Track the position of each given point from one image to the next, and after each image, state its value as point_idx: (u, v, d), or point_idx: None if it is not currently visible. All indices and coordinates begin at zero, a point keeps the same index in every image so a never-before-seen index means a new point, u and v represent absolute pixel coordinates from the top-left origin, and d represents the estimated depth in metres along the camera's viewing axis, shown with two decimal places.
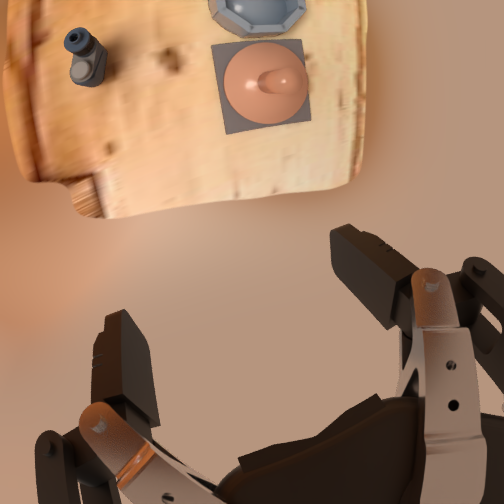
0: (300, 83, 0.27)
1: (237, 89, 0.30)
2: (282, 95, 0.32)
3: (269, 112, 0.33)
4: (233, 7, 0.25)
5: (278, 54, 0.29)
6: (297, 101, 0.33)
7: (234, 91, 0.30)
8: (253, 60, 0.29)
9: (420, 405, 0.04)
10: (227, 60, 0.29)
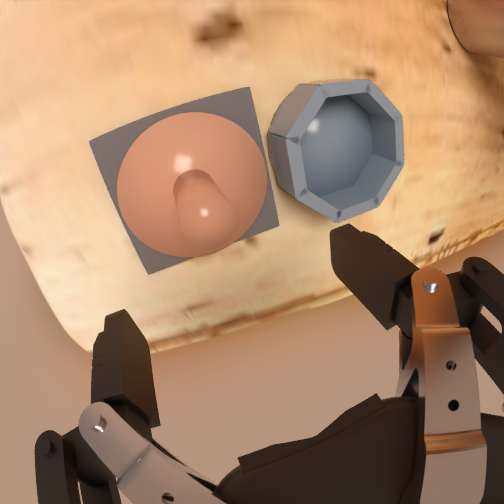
0: (208, 244, 0.16)
1: (171, 137, 0.17)
2: (175, 218, 0.20)
3: (139, 203, 0.19)
4: (318, 115, 0.21)
5: (248, 195, 0.21)
6: (172, 245, 0.21)
7: (166, 133, 0.17)
8: (230, 155, 0.19)
9: (420, 405, 0.04)
10: (223, 114, 0.19)
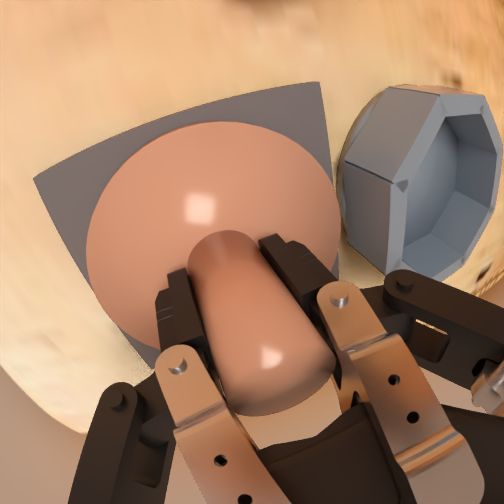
0: (276, 408, 0.07)
1: (182, 171, 0.09)
2: None
3: (128, 288, 0.11)
4: None
5: None
6: None
7: (173, 163, 0.09)
8: (289, 204, 0.11)
9: (420, 405, 0.04)
10: (275, 127, 0.11)
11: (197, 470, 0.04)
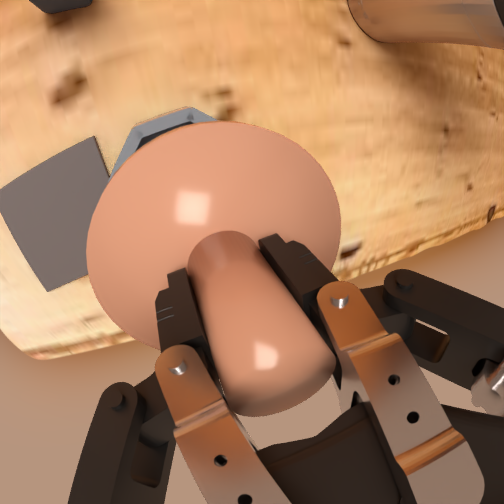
0: (276, 408, 0.07)
1: (182, 172, 0.09)
2: None
3: (128, 288, 0.11)
4: None
5: None
6: None
7: (173, 163, 0.09)
8: (289, 204, 0.11)
9: (420, 405, 0.04)
10: (75, 163, 0.20)
11: (197, 470, 0.04)
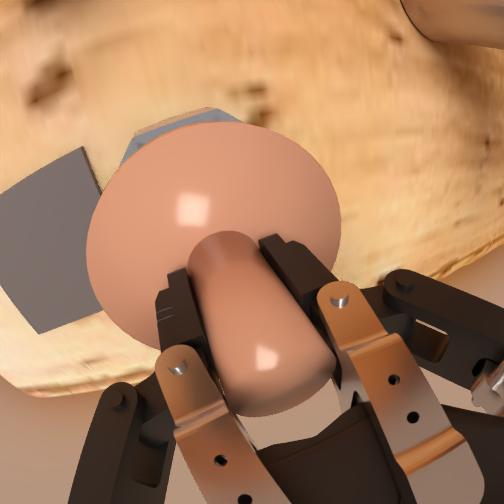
0: (276, 409, 0.07)
1: (183, 172, 0.09)
2: None
3: (128, 289, 0.11)
4: None
5: None
6: None
7: (174, 163, 0.09)
8: (289, 204, 0.11)
9: (420, 405, 0.04)
10: (59, 184, 0.15)
11: (197, 470, 0.04)
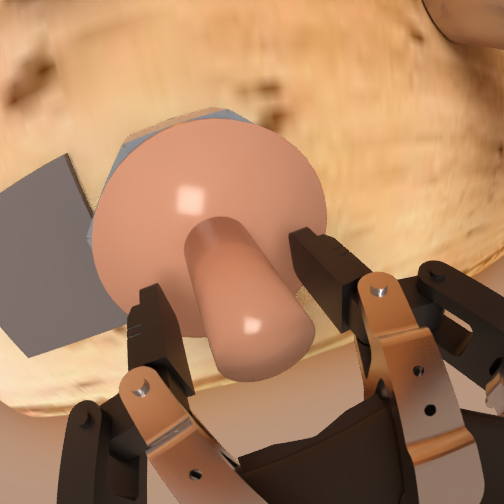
0: (262, 374, 0.08)
1: (180, 163, 0.10)
2: (188, 289, 0.13)
3: (129, 270, 0.12)
4: None
5: None
6: (183, 324, 0.14)
7: (172, 155, 0.10)
8: (276, 193, 0.12)
9: (420, 405, 0.04)
10: (41, 198, 0.13)
11: (175, 487, 0.04)
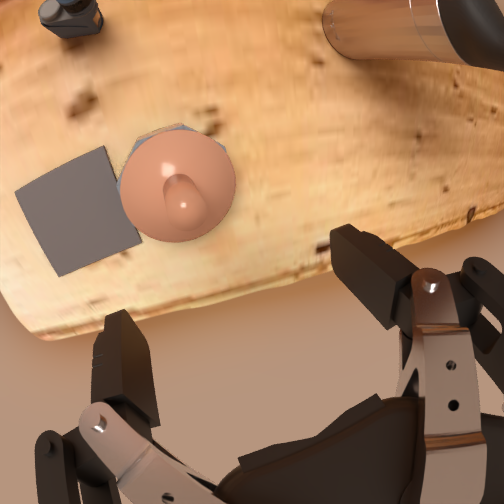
0: (187, 227, 0.21)
1: (161, 149, 0.23)
2: (164, 211, 0.26)
3: (136, 199, 0.25)
4: None
5: (220, 193, 0.27)
6: (161, 232, 0.27)
7: (158, 146, 0.23)
8: (206, 162, 0.25)
9: (420, 405, 0.04)
10: (88, 168, 0.25)
11: None
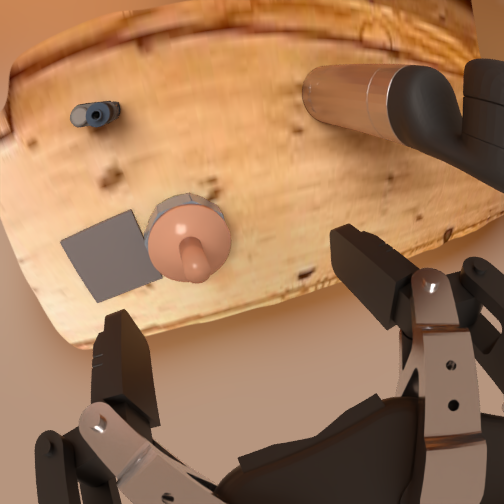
0: (198, 281, 0.33)
1: (177, 220, 0.35)
2: (180, 261, 0.38)
3: (160, 254, 0.36)
4: None
5: (220, 248, 0.39)
6: (178, 275, 0.39)
7: (174, 218, 0.34)
8: (209, 228, 0.37)
9: (420, 405, 0.04)
10: (120, 226, 0.37)
11: None
